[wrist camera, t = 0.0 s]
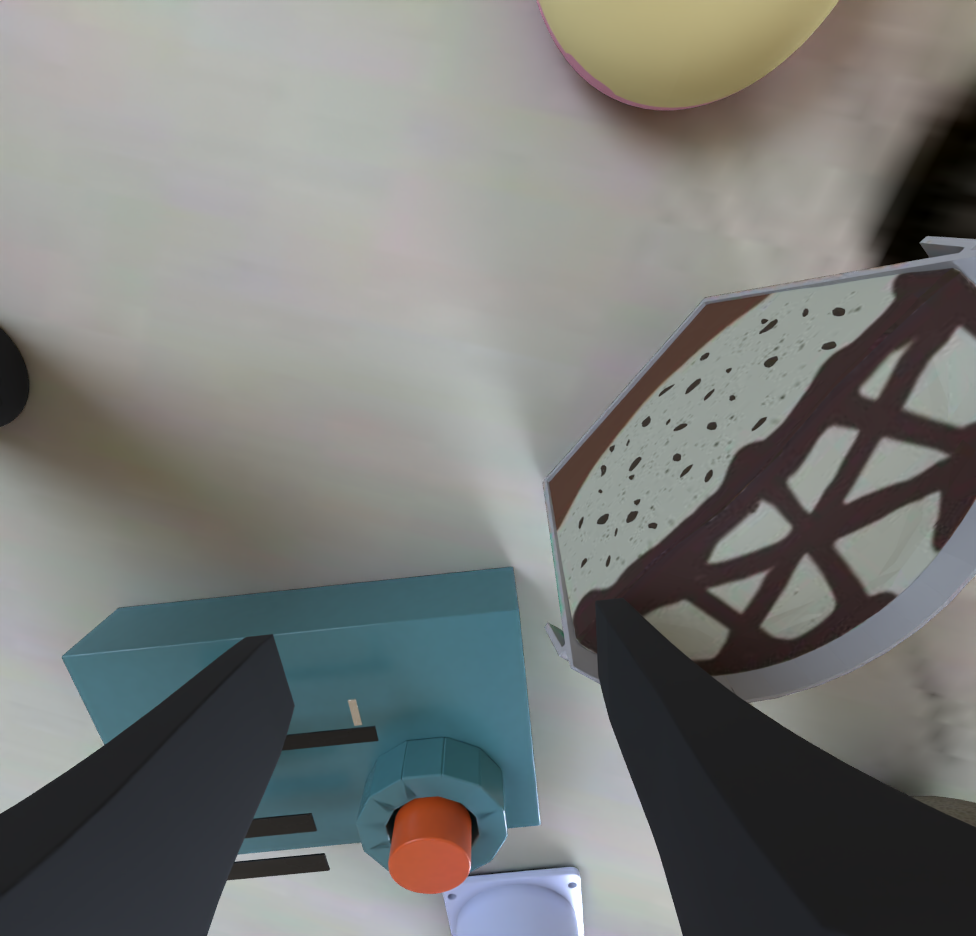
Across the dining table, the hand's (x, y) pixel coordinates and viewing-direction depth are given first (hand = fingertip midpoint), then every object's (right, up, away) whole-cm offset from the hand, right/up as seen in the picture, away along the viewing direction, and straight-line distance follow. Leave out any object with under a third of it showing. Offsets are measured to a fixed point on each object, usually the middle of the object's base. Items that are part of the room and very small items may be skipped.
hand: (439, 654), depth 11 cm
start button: (-1, -11, +9) cm, 14 cm away
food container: (+9, +5, +9) cm, 14 cm away
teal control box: (-6, -7, +13) cm, 16 cm away
